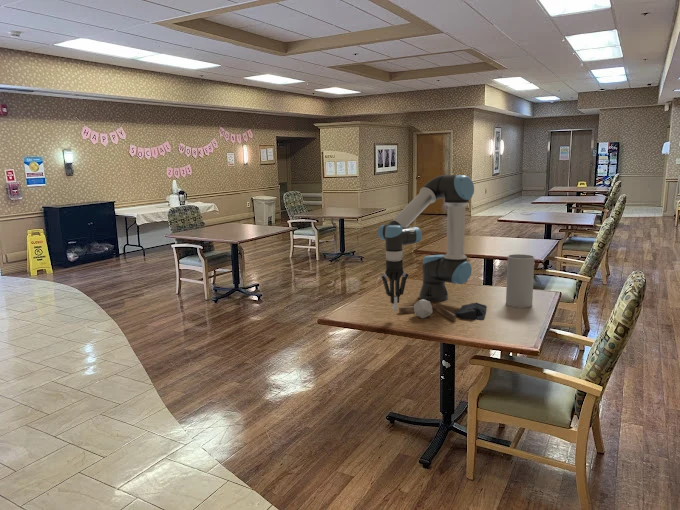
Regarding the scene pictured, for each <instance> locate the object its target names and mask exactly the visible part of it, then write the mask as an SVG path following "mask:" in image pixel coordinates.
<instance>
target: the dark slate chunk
mask: <svg viewBox="0 0 680 510" xmlns="http://www.w3.org/2000/svg"><path fill="white" fill-rule="evenodd" d="M487 308H488V307H487V305H486V304H482V303H479V302H472V303H468V304H463V305H461V306H460V308H458V309H457V310H455V311H454V312H453V314H455V315H456V319H457V318H458V319H461V320H469V321H470V320H471V321H484V320H485V318H486V314H487Z"/></svg>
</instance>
